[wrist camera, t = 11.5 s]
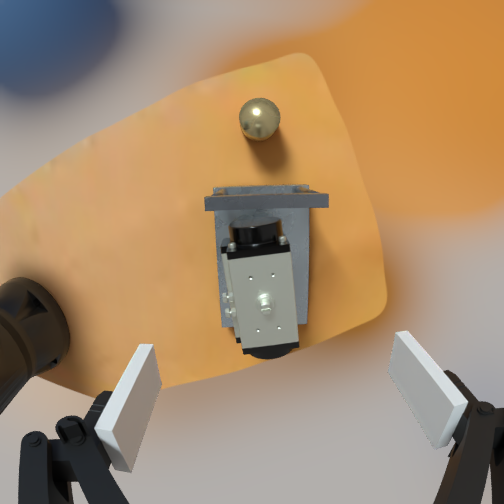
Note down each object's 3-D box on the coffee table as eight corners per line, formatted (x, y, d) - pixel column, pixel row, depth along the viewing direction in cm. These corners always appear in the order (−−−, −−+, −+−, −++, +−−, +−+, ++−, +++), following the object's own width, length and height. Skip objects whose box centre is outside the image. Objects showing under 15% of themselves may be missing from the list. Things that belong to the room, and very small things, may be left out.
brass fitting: (241, 141, 35) (240, 137, 30) (239, 107, 34) (238, 98, 29) (276, 140, 35) (281, 136, 30) (275, 107, 34) (279, 97, 29)
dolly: (223, 316, 40) (213, 381, 27) (216, 186, 36) (197, 196, 23) (303, 313, 40) (325, 375, 27) (304, 183, 36) (335, 192, 23)
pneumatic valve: (275, 206, 33) (289, 227, 22) (286, 308, 36) (302, 368, 25) (223, 213, 34) (209, 237, 22) (239, 314, 36) (235, 377, 25)
